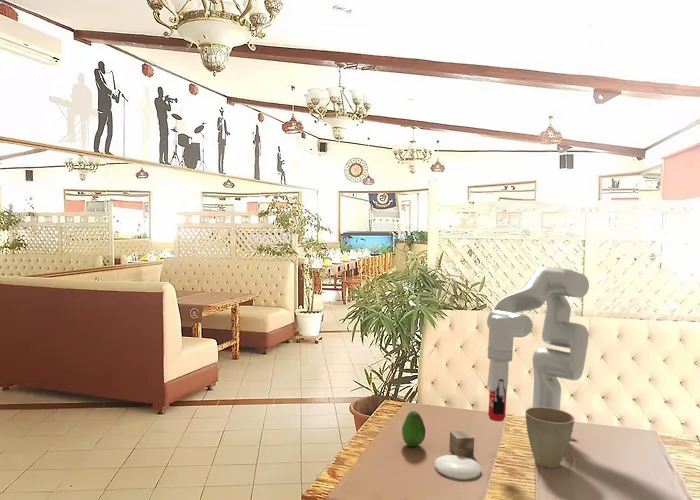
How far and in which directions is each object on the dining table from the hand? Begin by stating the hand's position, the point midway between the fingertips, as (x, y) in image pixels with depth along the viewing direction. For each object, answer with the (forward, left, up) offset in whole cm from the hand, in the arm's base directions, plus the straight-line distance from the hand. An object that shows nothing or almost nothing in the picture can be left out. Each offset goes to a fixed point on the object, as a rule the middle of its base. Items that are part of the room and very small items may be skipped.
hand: (496, 410), depth 170 cm
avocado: (+26, -7, -17) cm, 32 cm away
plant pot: (-17, -4, -17) cm, 25 cm away
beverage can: (0, 0, -3) cm, 3 cm away
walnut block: (+10, -6, -17) cm, 21 cm away
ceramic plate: (+12, +7, -17) cm, 22 cm away
